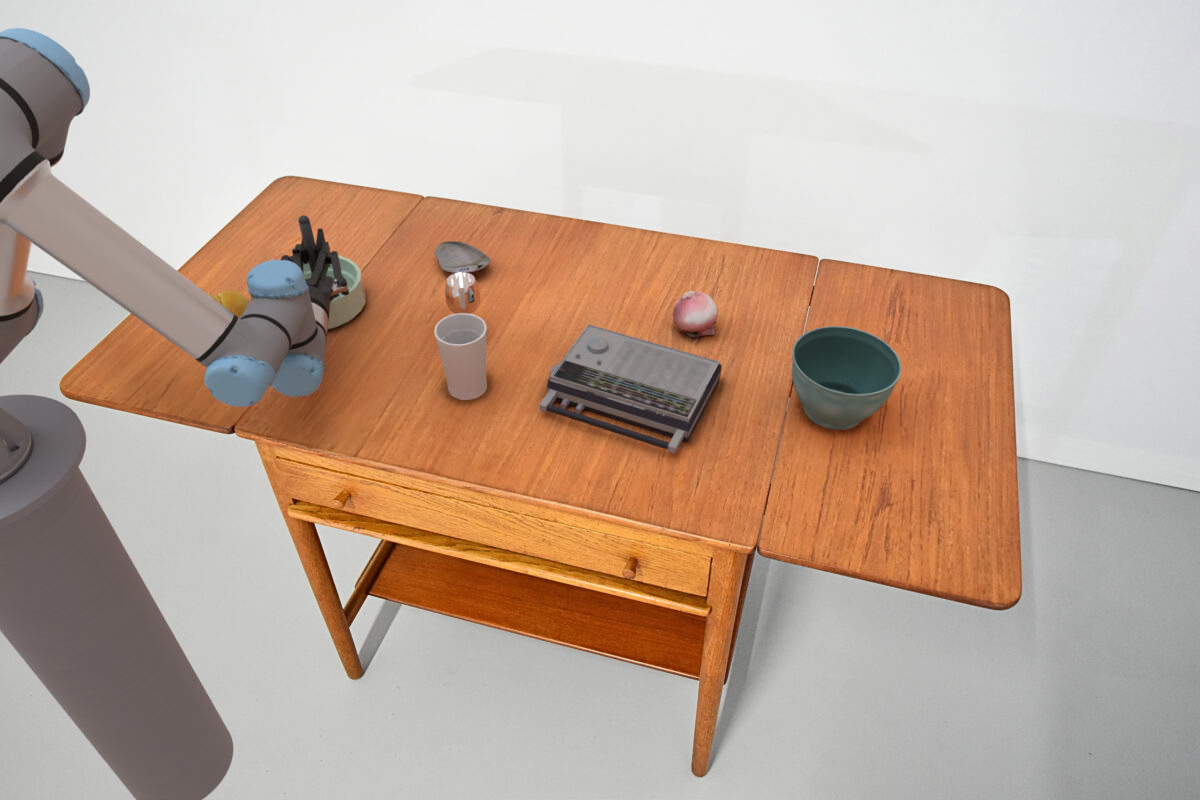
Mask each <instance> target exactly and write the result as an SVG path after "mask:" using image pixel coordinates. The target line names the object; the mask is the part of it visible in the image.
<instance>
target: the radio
mask: <svg viewBox="0 0 1200 800" xmlns="http://www.w3.org/2000/svg"><path fill="white" fill-rule="evenodd" d="M721 375H722V364H721V363H720V361H719V360H715V359H712V358H709V357H705V356H701V355H697V354H694V353H691V352H687V351H684V350H680V349H677V348H673V347H669V346H666V345H663V344H659V343H656V342H652V341H649V340H646V339H641V338H638V337H635V336H631V335H627V334H624V333H621V332H617V331H613V330H611V329H606V328H603V327H599V326H596V325H593V324H589V323H588V324H587V325H586V326H585V328H584V329H583V330H582V332H581V333H580V334H579V336H578V338H577V339H576V340H575V341H574V343H573V344H572V345H571V347H570V348H569V349H568V350H567V352H566V354H565V355H564V356H563V358H562V359H561V361H560V362H559V363H558V364H556V363H555V364H554V365H553V366H552V367H551V369H550V371H549V376H548V379H547V383H546V395H545V396H544V397H543V399H542V400H541V401H540V403H539V404H538V406H539V407H538V408H539V411H541V412H543V413H548V412H549V413H552V414H555V415H558V416H561V417H565V418H567V419H570V420H574V421H576V422H580V423H583V424H586V425H589V426H591V427H595V428H599V429H601V430H604V431H607V432H611V433H614V434H617V435H620V436H623V437H627V438H630V439H633V440H636V441H640V442H643V443H646V444H648V445H650V446H651V445H652V446H655V447H658V448H660V449H664V450H667V452H669V453H672V454H676V453H677V451H678V449H679V447H680V445H681V444H682V442H684V443H689V441H690V439H691V438H692V435H693V434H694V432H695V430H696V428H697V426H698V424H699V422H700V420H701V419H702V417H703V414H704V412H705V411H706V409H707V407H708V405H709V404H710V401H711V399H712V398H713V395H714V394H715V391H716V389H717V388H718V386H719V384H720V380H721V377H722V376H721ZM555 401H556V402H559V406H556V405H553V404H554V402H555ZM568 406H570V407H574V411H572V410H569V409H566V408H567V407H568ZM583 410H584V411H587V412H590V413H594V414H596V415H599V416H603V417H606V418H609V419H612V420H615V421H619V422H621V423H625V424H628V425H632V426H634V427H637V428H641V429H644V430H647V431H651V432H653V433H656V434H659V435H662V436H666V437H669V438H671V439H670V441H666V440H663V439H660V438H657V437H654V436H650V435H648V434H645V433H641V432H638V431H634V430H632V429H630V428H629V429H628V428H625V427H623V426H619V425H616V424H613V423H610V422H606V421H603V420H601V419H597V418H594V417H591V416H588V415H584V414H581V413H582V411H583Z"/></svg>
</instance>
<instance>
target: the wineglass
mask: <svg viewBox="0 0 1200 800" xmlns="http://www.w3.org/2000/svg"><path fill="white" fill-rule="evenodd" d="M444 299H445V304H446V306H447V308H448V309H449V311H450V312H452V313H453V314H458V313H468V314H473V313H474V312H475V311H477V310H478V308H479V306H480V303H481V293H480V289H479V285H478V283H477V280H476V277H475V276H474V275H473V274H471V273H470V272H469V273H465V272H459V273H452V274H450V275H449V276H448V277H447V279H446V282H445V288H444Z"/></svg>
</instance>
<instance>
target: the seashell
mask: <svg viewBox="0 0 1200 800" xmlns="http://www.w3.org/2000/svg"><path fill="white" fill-rule="evenodd" d="M433 252H434V253H433V254H434V257H435V258H436V259H437V261H438V263H439V267H440V268H441V270H443V271H444V272H448V273H452V274H455V273H459V272H465V273H469V274H470V273H474V272H477V271H480V270H483V269H484V268H485V267H487V266H489V265H490V264H491V263H492V262H491V261H492V260H491V258H490V257H489V256H488V255H487V254H485V253H484V252H483V251H481V250H480V249H478V248H476V247H475V246H473V245H470V244H469V243H465V242H462V241H456V240H450V241H442V242H441V243H439V244H438V245H437V246H436V248H435V249H434V251H433Z"/></svg>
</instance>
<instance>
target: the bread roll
mask: <svg viewBox="0 0 1200 800" xmlns="http://www.w3.org/2000/svg"><path fill="white" fill-rule="evenodd" d="M208 295H209V296H211V297H212V298H213V299H215V300H216V301H217V302H218V303H220V304H221V305H222V306H224V307H225V308H226V309H228V310H229V311H230V312H231V313H233V314H235V315H236V316H237V317H239V318H240V317H241V315H242V314H243V312H244V311H245V309H246V307H247V306H248V304H249V303H250V301H249V300H248V298H247V297H246V295H244V294H243V293H241V292H239V291H236V290H224V291H221V292H219V293H218V294H216V295H214V294H208Z"/></svg>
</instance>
